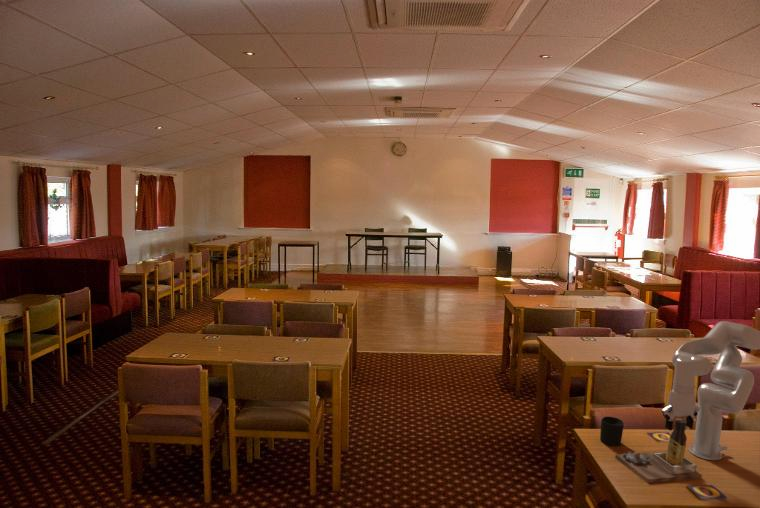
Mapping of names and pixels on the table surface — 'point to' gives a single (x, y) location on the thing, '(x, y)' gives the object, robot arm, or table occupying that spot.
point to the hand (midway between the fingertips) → (678, 428)
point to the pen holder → (611, 431)
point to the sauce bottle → (677, 444)
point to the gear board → (658, 467)
